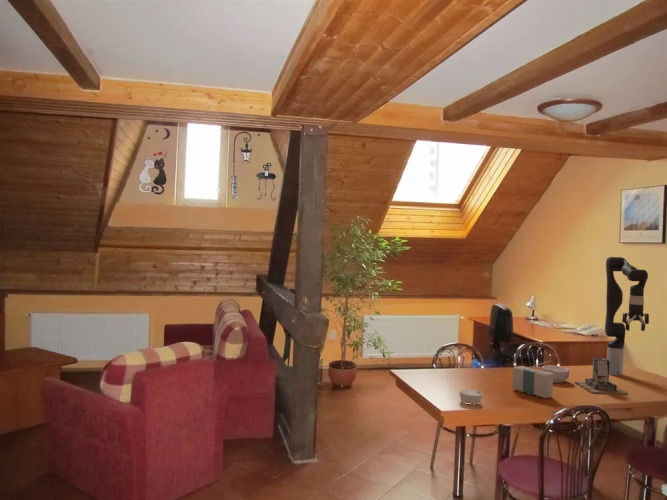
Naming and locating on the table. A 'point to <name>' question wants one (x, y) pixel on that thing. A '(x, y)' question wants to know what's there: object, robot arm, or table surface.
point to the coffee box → (601, 371)
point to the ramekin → (470, 396)
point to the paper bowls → (557, 372)
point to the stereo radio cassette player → (533, 381)
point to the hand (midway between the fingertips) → (635, 330)
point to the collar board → (600, 387)
